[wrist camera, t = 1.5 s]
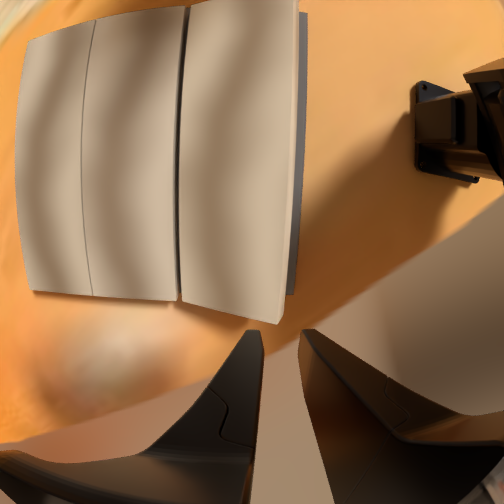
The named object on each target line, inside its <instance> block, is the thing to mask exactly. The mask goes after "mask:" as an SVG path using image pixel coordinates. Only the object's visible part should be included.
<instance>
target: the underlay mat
mask: <svg viewBox="0 0 504 504" xmlns="http://www.w3.org/2000/svg"><path fill="white" fill-rule="evenodd" d="M186 10H187V13H188V16H187V24H186V33H185V42H184V51H183V62H182V73H181V86H180V101H179V119H178V144H177V246H178V272H179V291H180V293H182V289H181V269H180V239H179V155H180V126H181V107H182V91H183V77H184V65H185V54H186V44H187V35H188V26H189V18H190V10H191V8H186ZM307 44H308V35H307V13H304V12H299V64H298V103H297V130H296V152H295V171H294V188H293V204H292V218H291V232H290V245H289V258H288V270H287V281H286V292H285V295H293V294H294V284H295V274H296V263H297V252H298V241H299V229H300V216H301V202H302V187H303V171H304V153H305V131H306V104H307Z"/></svg>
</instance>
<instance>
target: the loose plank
mask: <svg viewBox="0 0 504 504" xmlns="http://www.w3.org/2000/svg"><path fill="white" fill-rule="evenodd" d="M298 64H299V0H209V1H205V2H201V3H197V4H193V5H191V10H190V18H189V26H188V35H187V44H186V54H185V65H184V77H183V91H182V107H181V126H180V155H179V239H180V269H181V289H182V301H183V302H187V303H191V304H194V305H198V306H202V307H206V308H210V309H213V310H217V311H221V312H225V313H229V314H233V315H237V316H242V317H246V318H250V319H254V320H258V321H263V322H267V323H272V324H276V325H277V324H278V322H279V321H280V319H281V318H282V316H283V313H284V303H285V292H286V281H287V270H288V258H289V245H290V232H291V218H292V204H293V188H294V171H295V152H296V130H297V103H298Z"/></svg>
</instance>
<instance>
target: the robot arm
mask: <svg viewBox="0 0 504 504" xmlns="http://www.w3.org/2000/svg"><path fill="white" fill-rule="evenodd" d="M463 76H464V78H465V80H466V82H467V83H469V85H470V87H471V90H468V91H462V92H457V93H455V92H453V91H450V90H448V89H445V88H442V87H440V86H437V85H434V84H432V83H429V82H426V81H419V82H417V83H416V105H415V140H416V143H415V162H414V165H415V168H416V170H417V171H419V172H424V173H429V174H434V175H439V176H444V177H449V178H453V179H458V180H462V181H466V182H471V183H478V181H479V178H480V177H482V178H488V179H493V180H498V181H503V185H504V58H502V59H498V60H496V61H493V62H491V63H488V64H486V65H483V66H481V67H478V68H476V69H473V70H471V71H469V72H466V73H464V74H463ZM422 86H423V87H424V90H423V89H422ZM421 162H422V163H423V167H422V168H421V165H420V164H421ZM298 359H299V367H300V373H301V380H302V387H303V392H304V398H305V402H306V405H307V408H308V412H309V416H310V418H311V422H312V426H313V429H314V433H315V436H316V440H317V443H318V447H319V450H320V453H321V457H322V460H323V464H324V467H325V471H326V474H327V478H328V481H329V485H330V488H331V492H332V495H333V499H334V503H335V504H504V410H503V411H499V412H494V413H489V414H484V415H477V416H476V415H475V416H471V415H464V414H460V413H458V412H455V411H453V410H451V409H449V408H447V407H444V406H442V405H440V404H438V403H436V402H434V401H432V400H430V399H428V398H426V397H424V396H422V395H420V394H418V393H416V392H414V391H412V390H410V389H408V388H407V387H405V386H403V385H401V384H400V383H398V382H396V381H395V380H393V379H392V378H390V377H388V378H387V376H386V375H385V374H383V373H382V372H380V371H379V370H377V369H375V368H374V367H373V366H371V365H369V364H368V363H366V362H365V361H363V360H362V359H360V358H358V357H357V356H355V355H354V354H352V353H351V352H349V351H348V350H346V349H344V348H342V347H341V346H340V345H338V344H337V343H335V342H334V341H332V340H331V339H329V338H328V337H326V336H325V335H323V334H321V333H320V332H318V331H317V330H315V329H303V330H302V331H301V334H300V341H299V348H298ZM263 366H264V346H263V342H262V337H261V333H260V331H259V330H246V331H245V333H244V334H243V336H242V337H241V339H240V340H239V342H238V343H237V345H236V346H235V347H234V349H233V350H232V352H231V353H230V355H229V356H228V357H227V359H226V360H225V362H224V363H223V365H222V366H221V367H220V369H219V370H218V372H217V373H216V374H215V376H214V377H213V379H212V380H211V381H210V383H209V384H208V386H207V388H205V390H204V391H203V392H202V394H201V395H200V396H199V398H198V399H197V400H196V401H195V403H194V404H193V405H192V406H191V407H190V408H189V410H188V411H187V412H186V413H185V414H184V415H183V416H182V417H181V418H180V419H179V420H178V421H177V422H176V423H175V424H174V425H172V426H171V427H170V428H169V429H168V430H167V431H166V432H165V433H164V434H163V435H162V436H161V437H160V438H159V439H157V440H156V441H155V442H154V443H153V444H152V445H151V446H150V447H148V448H147V449H145V450H144V451H142V452H140V453H138V454H135V455H132V456H127V457H121V458H114V459H108V460H100V461H92V462H84V463H68V464H65V463H54V462H49V461H45V460H42V459H39V458H36V457H34V456H31V455H29V454H27V453H24V452H21V451H18V450H6V451H0V489H1V490H2V491H3V492H4V493H5V494H7V496H9V497H10V498H11V499H12V500H13V501H14V502H15V503H16V504H250V500H251V491H252V482H253V473H254V463H255V453H256V443H257V433H258V422H259V412H260V401H261V390H262V378H263Z"/></svg>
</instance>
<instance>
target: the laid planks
mask: <svg viewBox="0 0 504 504" xmlns="http://www.w3.org/2000/svg"><path fill="white" fill-rule="evenodd" d="M187 16H188V13H187V10H186V7H185V5H184V6H172V7H162V8H154V9H146V10H140V11H134V12H128V13H122V14H117V15H113V16H108V17H103V18H99V19H97V20H91V21H87V22H84V23H80V24H76V25H73V26H70V27H66V28H63V29H60V30H57V31H54V32H51V33H48V34H46V35H43V36H40V37H38V38H35V39H32V40H30V41H28V45H27V49H26V54H25V59H24V64H23V69H22V75H21V82H20V89H19V97H18V106H17V117H16V133H15V187H16V203H17V214H18V224H19V232H20V239H21V246H22V252H23V258H24V264H25V269H26V274H27V279H28V284H29V288H30V290H38V291H47V292H57V293H67V294H78V295H89V296H93V295H94V296H101V297H115V298H129V299H146V300H165V301H177V298H178V296H179V293H180V291H179V272H178V246H177V144H178V119H179V101H180V86H181V73H182V62H183V51H184V42H185V33H186V24H187Z"/></svg>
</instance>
